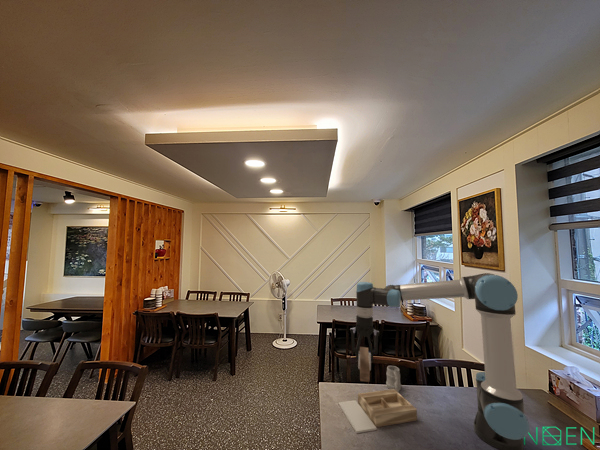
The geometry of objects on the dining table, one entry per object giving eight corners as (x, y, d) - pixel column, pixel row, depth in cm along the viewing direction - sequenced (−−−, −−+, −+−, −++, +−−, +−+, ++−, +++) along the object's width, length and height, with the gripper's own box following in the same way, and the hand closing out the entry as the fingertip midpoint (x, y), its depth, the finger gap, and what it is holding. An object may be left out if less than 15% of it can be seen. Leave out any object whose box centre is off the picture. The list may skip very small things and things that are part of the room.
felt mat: (376, 430, 98) (376, 427, 98) (356, 433, 96) (356, 431, 96) (355, 401, 116) (355, 400, 117) (338, 404, 114) (338, 402, 114)
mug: (398, 384, 133) (397, 361, 134) (406, 396, 121) (405, 371, 123) (384, 383, 134) (384, 360, 135) (390, 395, 122) (390, 370, 123)
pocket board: (417, 420, 104) (416, 409, 105) (375, 427, 100) (375, 415, 100) (394, 398, 120) (394, 388, 120) (357, 403, 115) (357, 393, 116)
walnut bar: (367, 355, 119) (368, 347, 117) (369, 382, 106) (369, 373, 104) (359, 354, 120) (359, 346, 118) (360, 380, 107) (360, 372, 105)
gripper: (345, 316, 111) (345, 369, 108) (384, 319, 107) (384, 375, 105) (346, 312, 118) (345, 362, 116) (382, 315, 114) (382, 367, 112)
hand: (364, 368), depth 110 cm, fingers closed on walnut bar, 4 cm apart
